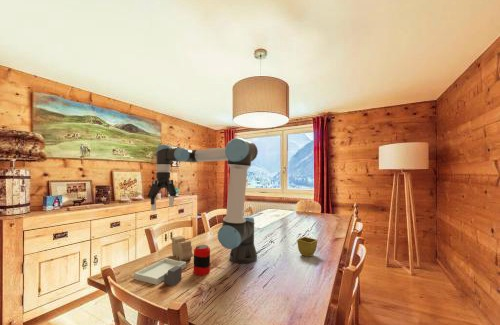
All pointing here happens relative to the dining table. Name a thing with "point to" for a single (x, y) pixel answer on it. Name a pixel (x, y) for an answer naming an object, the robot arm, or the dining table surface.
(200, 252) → the soda can
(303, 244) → the flower pot
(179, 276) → the dark grey block
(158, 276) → the tray
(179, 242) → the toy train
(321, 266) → the dining table surface
